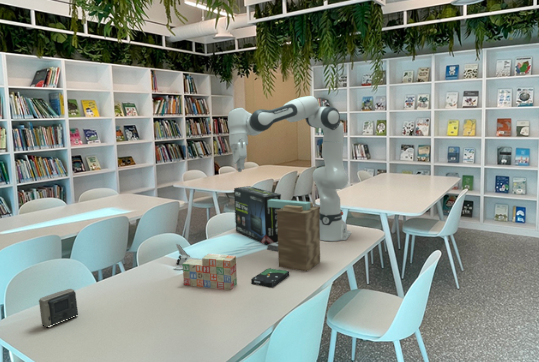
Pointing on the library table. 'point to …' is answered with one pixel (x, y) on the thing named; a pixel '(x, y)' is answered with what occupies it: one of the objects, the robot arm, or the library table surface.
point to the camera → (58, 307)
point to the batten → (287, 203)
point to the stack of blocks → (211, 272)
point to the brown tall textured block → (298, 237)
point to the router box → (256, 214)
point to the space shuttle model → (182, 258)
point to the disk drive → (270, 277)
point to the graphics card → (273, 246)
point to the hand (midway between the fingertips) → (241, 170)
